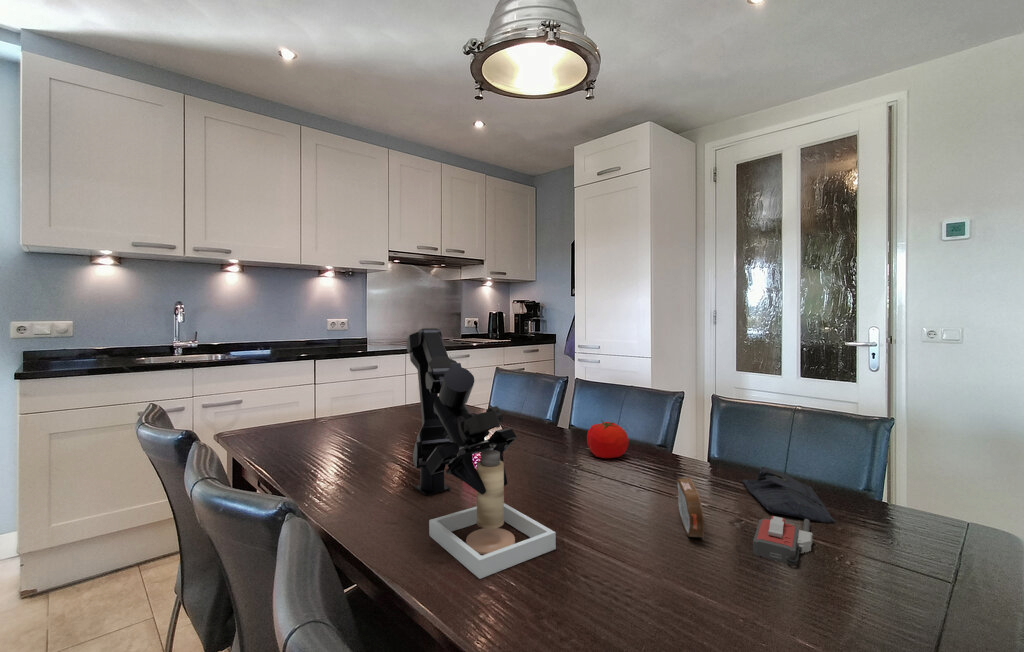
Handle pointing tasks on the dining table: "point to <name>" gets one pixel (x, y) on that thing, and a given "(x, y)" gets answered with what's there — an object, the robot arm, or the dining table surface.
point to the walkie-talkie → (781, 540)
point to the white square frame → (491, 541)
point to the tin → (690, 508)
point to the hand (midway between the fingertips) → (495, 489)
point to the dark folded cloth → (787, 496)
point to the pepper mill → (491, 490)
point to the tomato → (607, 440)
